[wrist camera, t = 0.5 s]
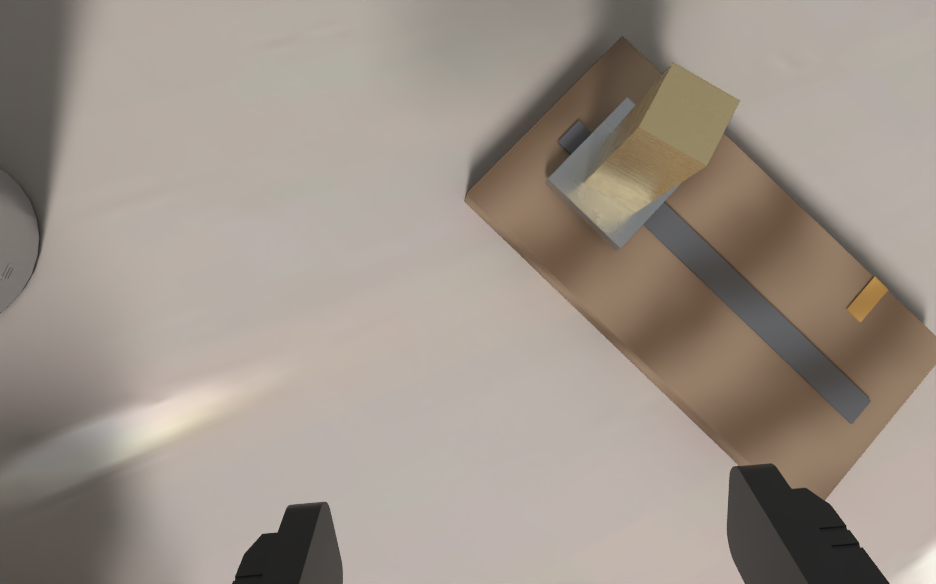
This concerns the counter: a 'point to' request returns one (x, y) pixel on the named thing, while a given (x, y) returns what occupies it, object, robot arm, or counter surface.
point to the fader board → (719, 293)
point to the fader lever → (643, 154)
